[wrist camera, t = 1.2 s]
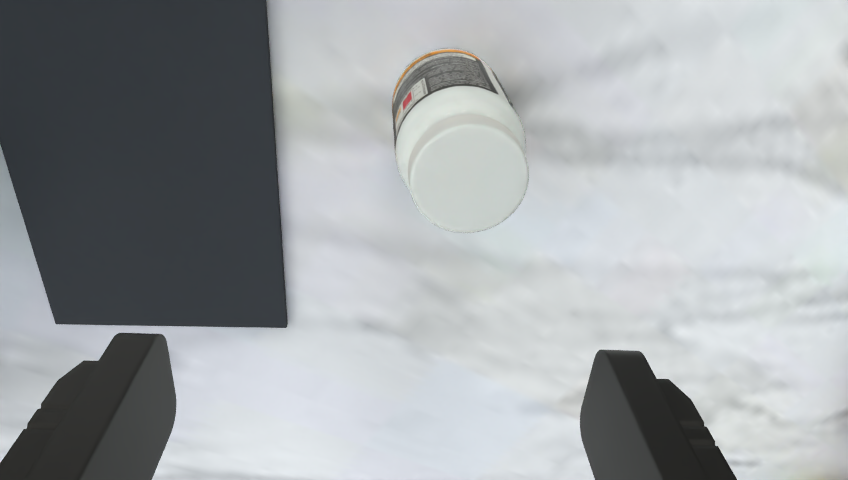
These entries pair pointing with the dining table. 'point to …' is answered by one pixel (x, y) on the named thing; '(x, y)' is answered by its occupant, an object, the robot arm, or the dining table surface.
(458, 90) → the pill bottle
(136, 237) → the placemat
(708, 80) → the dining table surface
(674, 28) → the dining table surface
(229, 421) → the dining table surface
